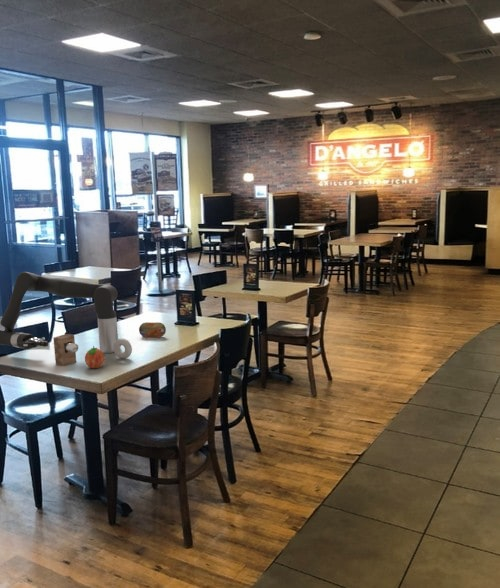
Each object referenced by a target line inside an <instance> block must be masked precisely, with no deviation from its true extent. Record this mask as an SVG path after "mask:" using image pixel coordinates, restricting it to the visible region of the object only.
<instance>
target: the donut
mask: <svg viewBox="0 0 500 588" xmlns="http://www.w3.org/2000/svg"><path fill="white" fill-rule="evenodd" d="M121 346H122V347H124V351H123V350H122V348H121ZM113 349H114V352H113V353H114V354H115V356H116V357H118V358H119V359H122V360H125V359H127V358H129V357H131V355H132V353H133V347H132V344H131V342H130V341H129V340H127V339H126V338H122V337H120V338H118V340H116V341H115V343H114V345H113Z"/></svg>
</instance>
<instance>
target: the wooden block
mask: <svg viewBox="0 0 500 588" xmlns="http://www.w3.org/2000/svg"><path fill="white" fill-rule="evenodd" d="M52 339H53V349H54V359H55V360H54V361H55V365H56V366H61V367H64V366H67V365H70V364H74V363H77V352H68V351H65V347H64V343H74V344H76V342H75V339H76V338H75V334H72V333H71V334H69V333H65V334H62V335H58V336H54V337H52Z"/></svg>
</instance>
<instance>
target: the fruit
mask: <svg viewBox="0 0 500 588" xmlns="http://www.w3.org/2000/svg"><path fill="white" fill-rule="evenodd" d="M84 362H85V364H86V366H87V367H88V368H90V369H99V368H101V367H102V366H103V364H104V363H105V353H103V352H102V351H101V350H100V348H98V347H95V346H94V345H93V347H92V348H90V349H88V350H87V351H86V353H85V355H84Z"/></svg>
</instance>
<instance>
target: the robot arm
mask: <svg viewBox="0 0 500 588" xmlns="http://www.w3.org/2000/svg"><path fill="white" fill-rule="evenodd" d="M27 291H28V292H43V293H49V294H52V295H55V296H59V297H63V298H68V299H69V298H70V299H71V298H72V299H87V298H89V299H93V304H94V309H95V310H94V311H95V314H96V315H97V317H96V318H97V328H98V342H99V344H98V345H99V349H100V350H101V351H102V352H103V354H111V353H115V352H114V349H113V345H114V343H115V341H116V340H118V339H119V332H118V321H117V320H118V319H117V311H116V310H115V309H114V308H113V302H114V301H115V300H116V299H117V298H118V289H116V287H114V286H113V285H111V284H101V283H100V284H99V283H90V282H85V281H81V280H75V279H71V278H64V277H63V278H62V277H60V278H59V277H54V278H53V277H46V276H42V275H39V274H36V273H32V272H28V271H22V272H20V273H19V274H18V275H17V277H16V278H15V283H14V286H13V290H12V293H11V296H10V299H9V302H8V304H7V306H6V309H5V311H4V313H3V315H2V317H1V319H0V326H2V327H4V330H0V345H1V346H9V347H14V348H18V349H24V350H31V349H32V348H37V347H48V346H49V342H48V340H47V341H46V338H45V337H44V336H43V337H40V338H39V337H35V336H34V335H33V334H32V333H25V332H15V325H16V324H17V321H18V319H19V317H20V315H21V310H22V302H23V299H24V298H25V297H24V296H25V295H26V293H27Z"/></svg>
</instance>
